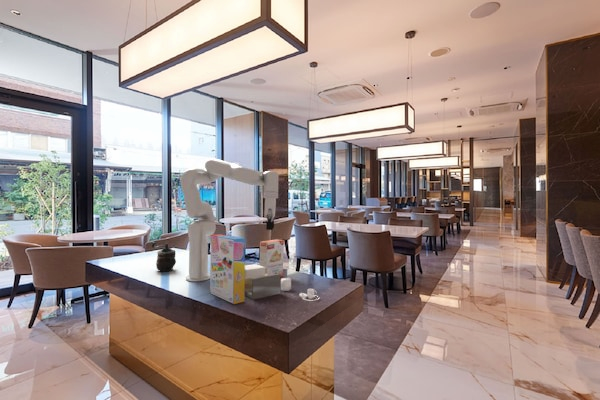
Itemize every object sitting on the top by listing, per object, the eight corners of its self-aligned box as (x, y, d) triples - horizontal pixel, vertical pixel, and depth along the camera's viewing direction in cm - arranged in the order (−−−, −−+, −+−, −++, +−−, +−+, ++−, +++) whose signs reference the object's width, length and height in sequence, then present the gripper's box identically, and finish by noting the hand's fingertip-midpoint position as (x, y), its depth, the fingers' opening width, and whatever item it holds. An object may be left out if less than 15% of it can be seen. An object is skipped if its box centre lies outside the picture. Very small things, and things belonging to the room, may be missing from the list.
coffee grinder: (145, 272, 173) (145, 242, 173) (165, 267, 187) (165, 238, 187) (162, 275, 168) (162, 243, 168) (181, 269, 182) (181, 240, 182)
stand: (233, 288, 145) (233, 269, 145) (258, 283, 153) (258, 266, 153) (253, 299, 129) (253, 278, 129) (280, 293, 137) (280, 274, 137)
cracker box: (267, 282, 156) (267, 242, 156) (258, 280, 160) (259, 241, 160) (283, 276, 168) (284, 239, 168) (275, 274, 171) (276, 238, 171)
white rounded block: (278, 289, 145) (278, 278, 145) (287, 287, 148) (287, 277, 148) (284, 291, 141) (284, 281, 141) (293, 289, 144) (293, 279, 144)
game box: (245, 302, 126) (245, 237, 126) (233, 305, 122) (234, 239, 122) (220, 290, 140) (220, 233, 140) (209, 293, 137) (210, 234, 137)
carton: (237, 274, 145) (237, 266, 145) (255, 271, 152) (256, 263, 152) (246, 278, 138) (246, 270, 138) (264, 275, 144) (265, 267, 144)
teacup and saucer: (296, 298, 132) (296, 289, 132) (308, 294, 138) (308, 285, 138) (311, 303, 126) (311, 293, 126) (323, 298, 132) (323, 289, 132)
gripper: (264, 195, 160) (264, 227, 160) (261, 195, 143) (261, 230, 143) (278, 195, 161) (278, 227, 161) (277, 195, 143) (276, 230, 143)
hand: (270, 228), depth 152 cm, fingers open, 9 cm apart
